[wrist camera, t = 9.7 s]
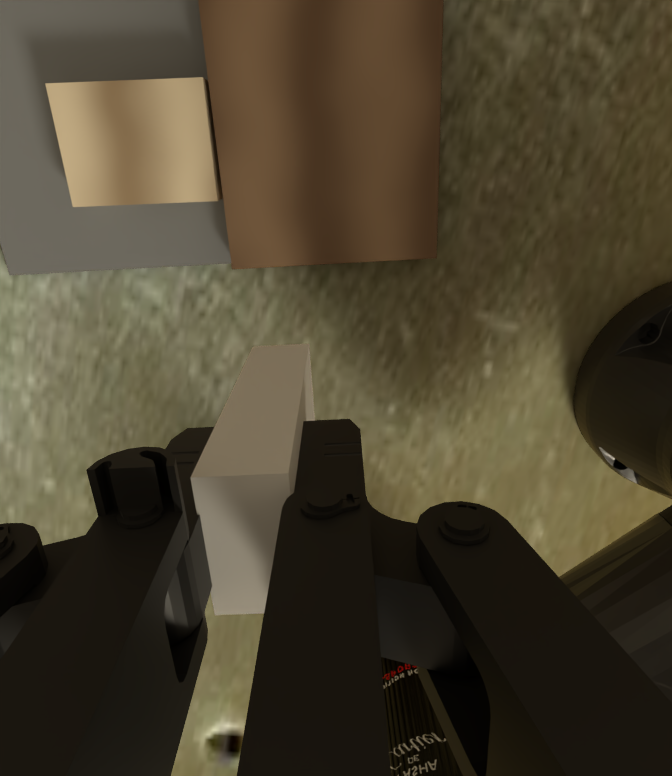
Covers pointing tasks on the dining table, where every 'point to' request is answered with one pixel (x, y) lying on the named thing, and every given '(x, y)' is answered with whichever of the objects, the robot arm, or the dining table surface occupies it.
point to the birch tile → (137, 141)
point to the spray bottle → (413, 726)
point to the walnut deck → (326, 127)
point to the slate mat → (41, 148)
